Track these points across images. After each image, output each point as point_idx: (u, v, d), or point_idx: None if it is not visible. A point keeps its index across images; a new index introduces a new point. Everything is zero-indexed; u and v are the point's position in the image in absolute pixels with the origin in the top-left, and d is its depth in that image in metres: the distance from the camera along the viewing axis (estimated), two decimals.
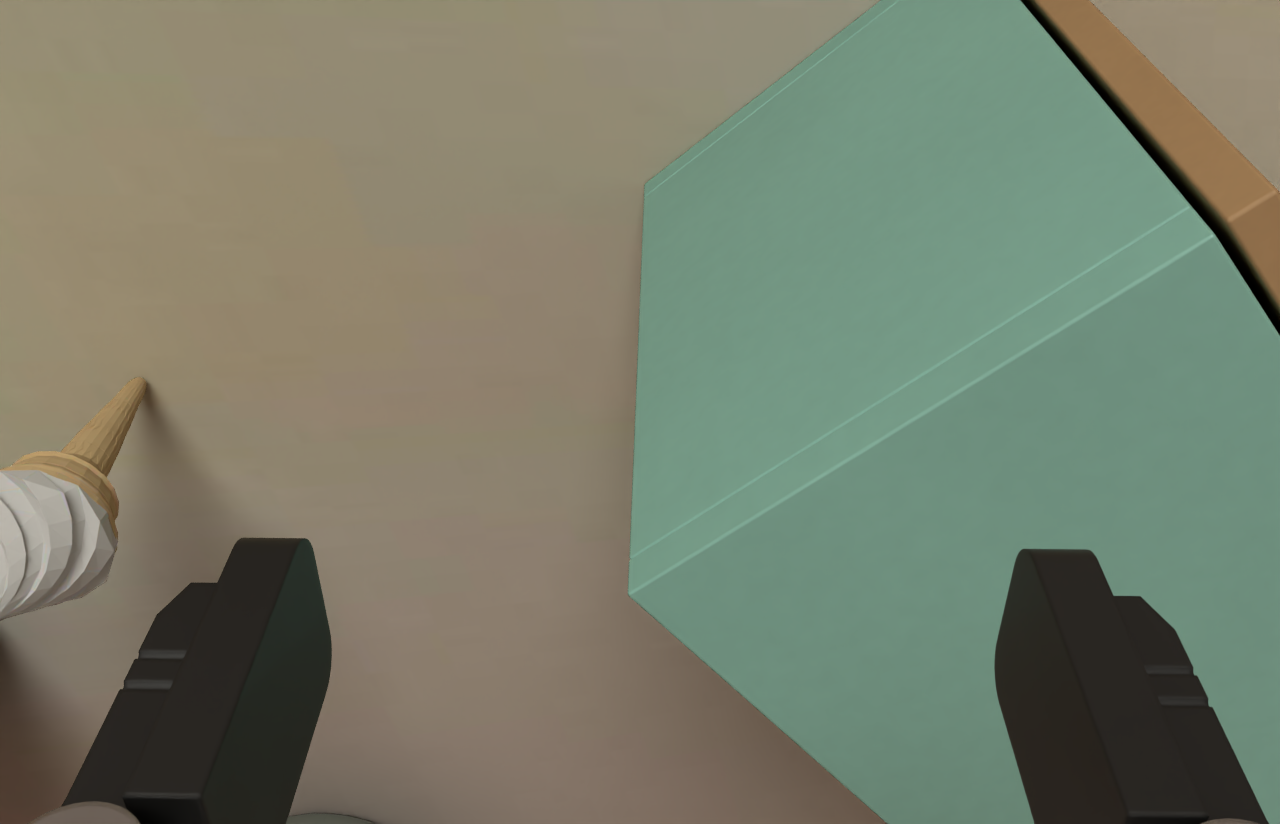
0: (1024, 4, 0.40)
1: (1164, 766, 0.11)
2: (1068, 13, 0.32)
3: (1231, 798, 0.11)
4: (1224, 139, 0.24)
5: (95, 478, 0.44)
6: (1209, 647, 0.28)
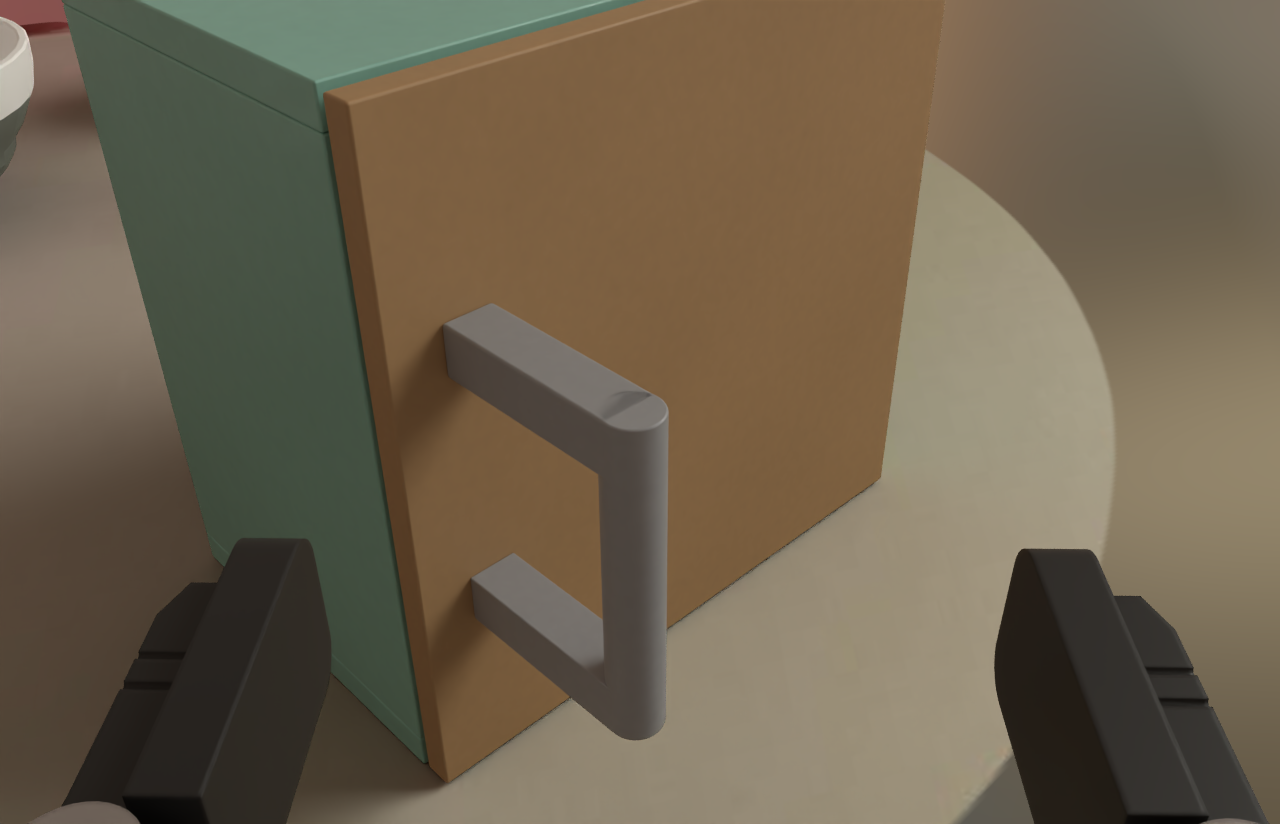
0: None
1: (1164, 766, 0.11)
2: None
3: (1231, 798, 0.11)
4: (944, 0, 0.40)
5: None
6: None
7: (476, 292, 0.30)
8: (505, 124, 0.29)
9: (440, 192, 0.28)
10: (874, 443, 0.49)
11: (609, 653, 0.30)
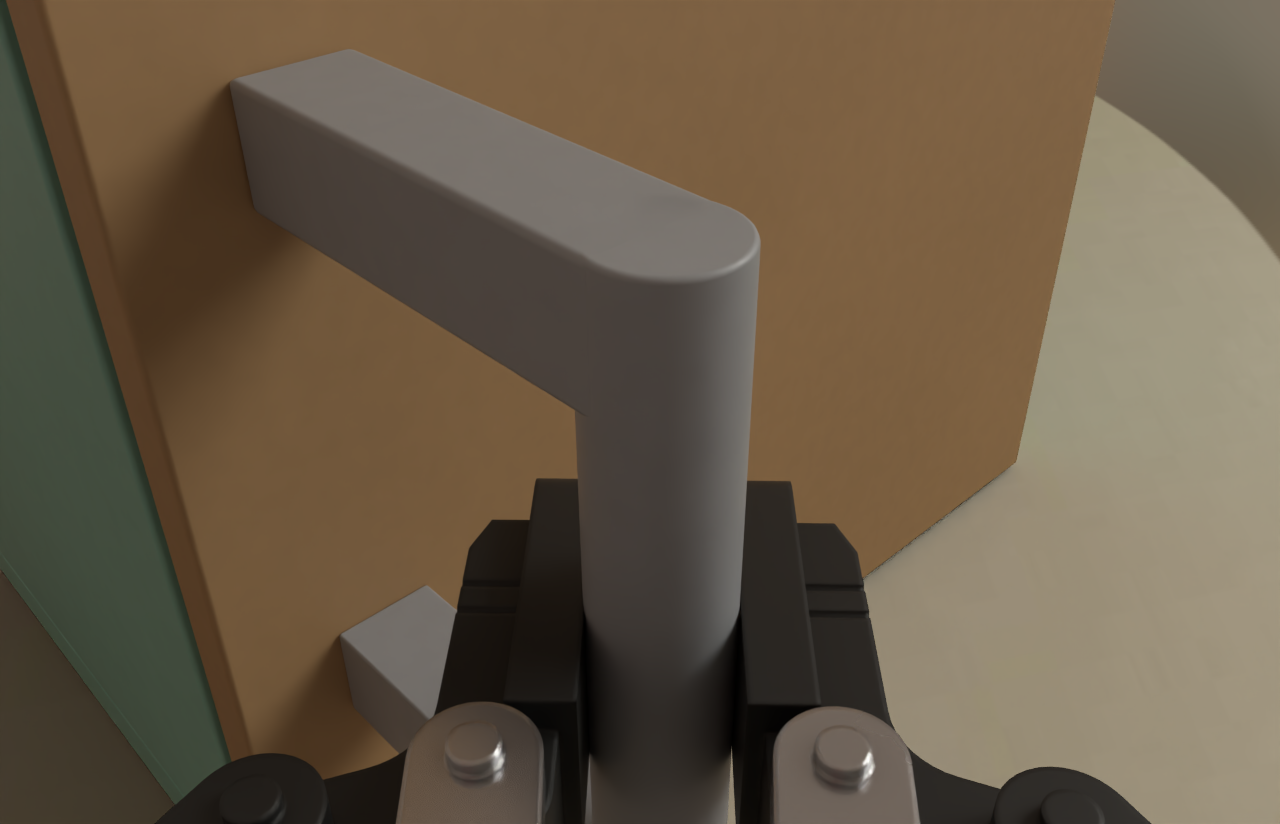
0: None
1: (794, 664, 0.12)
2: None
3: (862, 695, 0.12)
4: None
5: None
6: None
7: (311, 16, 0.14)
8: None
9: None
10: (1014, 407, 0.32)
11: (603, 821, 0.14)
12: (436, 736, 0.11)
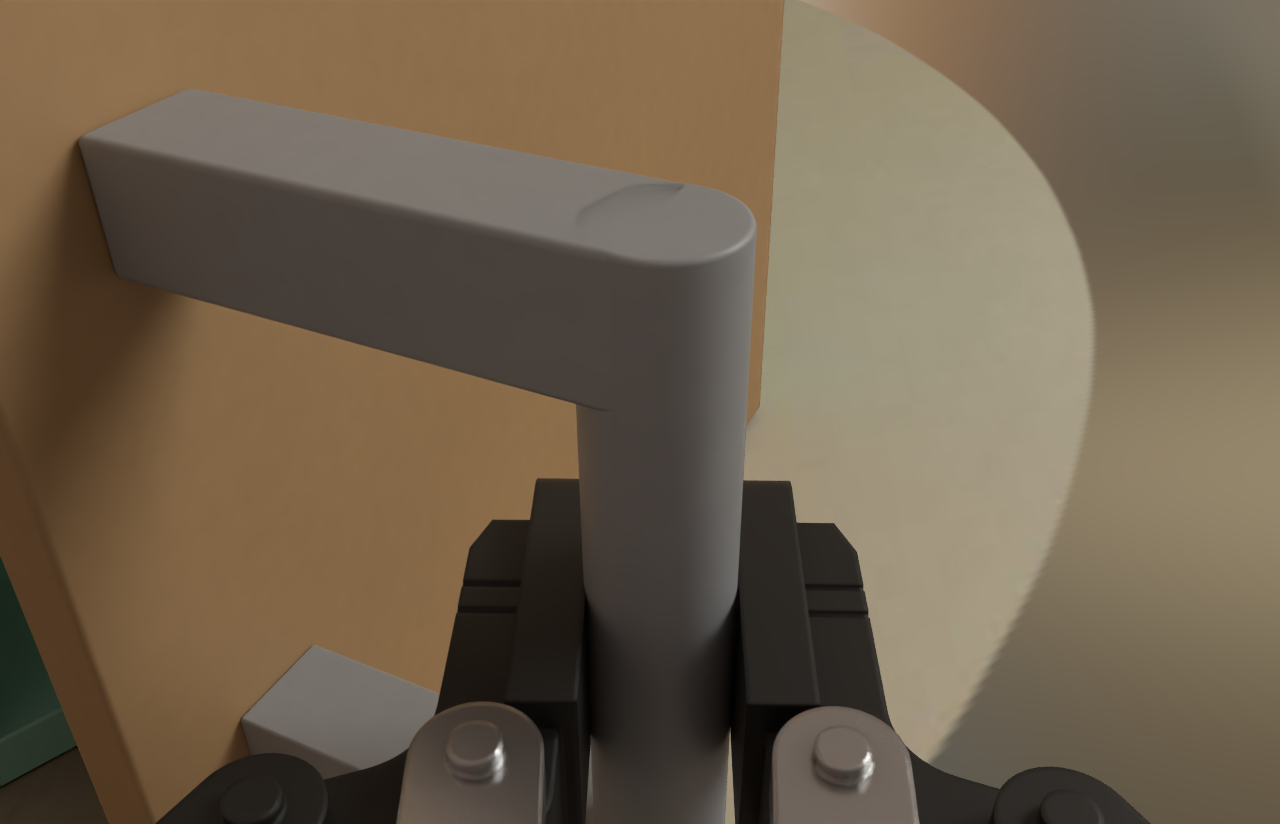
0: None
1: (794, 664, 0.12)
2: None
3: (861, 695, 0.12)
4: None
5: None
6: None
7: (148, 57, 0.12)
8: None
9: None
10: (754, 356, 0.34)
11: (622, 814, 0.14)
12: (437, 736, 0.11)
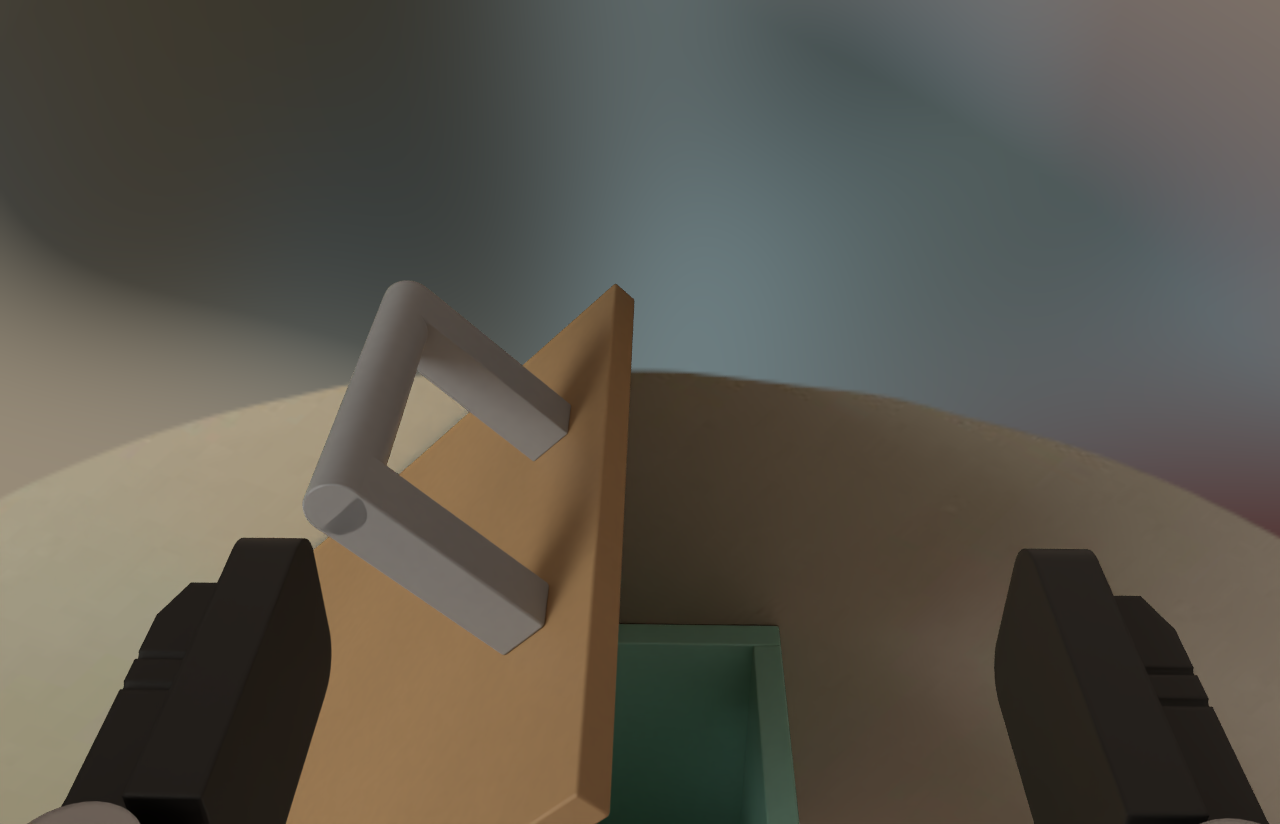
0: None
1: (1164, 766, 0.11)
2: None
3: (1231, 798, 0.11)
4: None
5: None
6: None
7: (513, 661, 0.31)
8: (458, 816, 0.28)
9: (522, 738, 0.28)
10: None
11: (412, 338, 0.34)
12: None
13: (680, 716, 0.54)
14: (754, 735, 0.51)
